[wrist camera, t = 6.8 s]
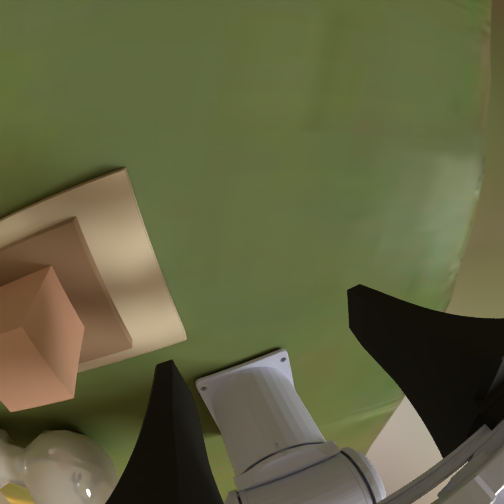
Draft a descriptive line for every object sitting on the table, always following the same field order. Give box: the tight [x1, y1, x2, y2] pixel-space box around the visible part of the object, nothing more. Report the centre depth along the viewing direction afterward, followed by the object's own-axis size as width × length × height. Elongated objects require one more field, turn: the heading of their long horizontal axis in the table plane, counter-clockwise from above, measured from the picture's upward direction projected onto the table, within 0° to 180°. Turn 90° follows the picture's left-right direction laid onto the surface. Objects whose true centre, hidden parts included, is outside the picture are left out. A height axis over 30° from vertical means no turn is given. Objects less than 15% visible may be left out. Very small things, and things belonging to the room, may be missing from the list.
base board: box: [0, 167, 187, 373], centre depth 17 cm, size 12×16×2 cm
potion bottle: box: [0, 429, 119, 504], centre depth 19 cm, size 9×10×15 cm
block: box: [0, 266, 85, 412], centre depth 14 cm, size 4×4×6 cm
